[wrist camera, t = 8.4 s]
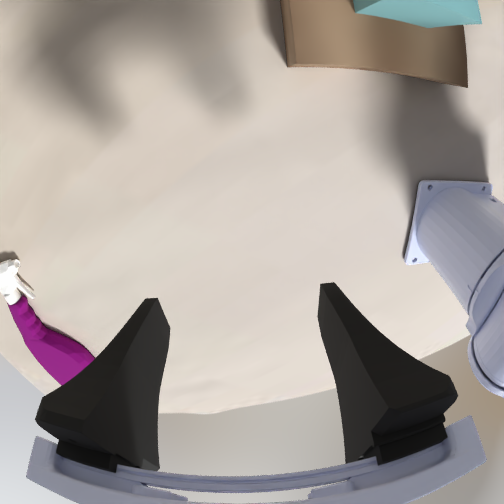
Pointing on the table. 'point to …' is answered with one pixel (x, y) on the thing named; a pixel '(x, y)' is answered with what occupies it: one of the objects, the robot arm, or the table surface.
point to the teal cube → (423, 11)
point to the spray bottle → (41, 330)
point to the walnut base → (371, 42)
